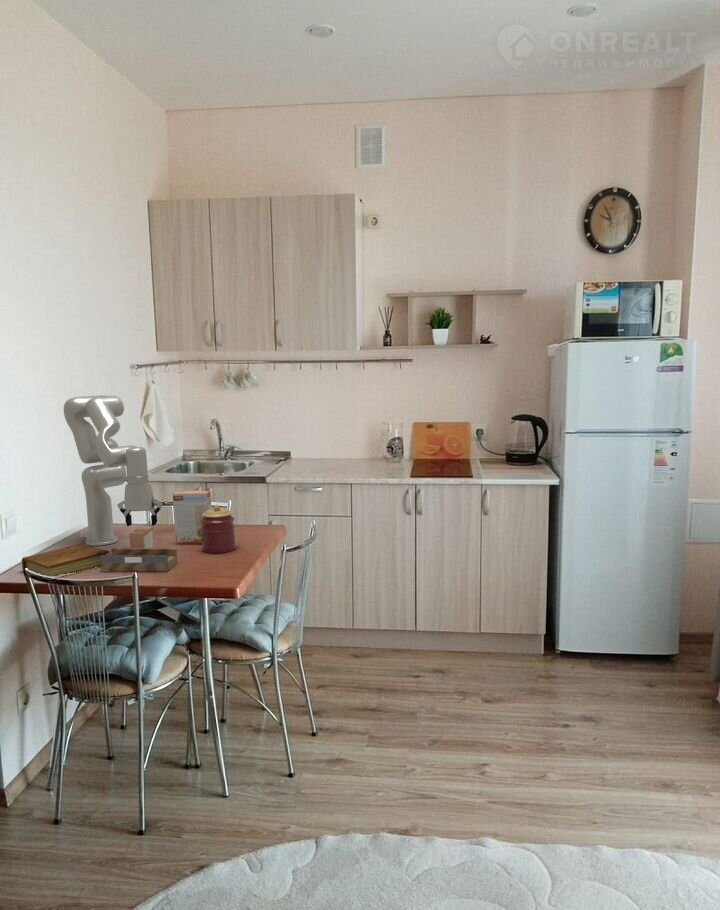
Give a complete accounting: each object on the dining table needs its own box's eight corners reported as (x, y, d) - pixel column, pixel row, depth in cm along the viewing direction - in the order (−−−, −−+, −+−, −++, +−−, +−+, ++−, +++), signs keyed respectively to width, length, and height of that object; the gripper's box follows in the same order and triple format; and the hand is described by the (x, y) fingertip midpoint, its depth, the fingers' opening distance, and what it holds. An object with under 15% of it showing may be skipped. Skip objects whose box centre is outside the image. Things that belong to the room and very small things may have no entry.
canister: (207, 544, 287) (204, 501, 284) (239, 544, 286) (237, 500, 283) (198, 553, 274) (195, 508, 271) (231, 553, 273) (229, 508, 271)
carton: (131, 559, 269) (129, 533, 268) (141, 551, 279) (140, 526, 277) (144, 559, 268) (142, 533, 267) (154, 551, 278) (152, 526, 277)
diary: (82, 557, 275) (81, 543, 274) (109, 566, 263) (108, 550, 262) (22, 572, 257) (21, 556, 256) (49, 581, 245) (47, 565, 245)
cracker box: (213, 540, 293) (211, 489, 290) (209, 544, 287) (206, 492, 284) (180, 540, 295) (177, 490, 292) (175, 544, 289) (172, 492, 286)
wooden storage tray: (101, 571, 254) (99, 556, 253) (114, 562, 265) (112, 548, 264) (167, 571, 252) (166, 556, 251) (177, 563, 262) (176, 548, 262)
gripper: (111, 482, 267) (115, 528, 269) (156, 481, 265) (160, 526, 267) (119, 479, 274) (123, 523, 276) (163, 478, 272) (167, 522, 274)
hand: (141, 525), depth 271 cm, fingers open, 9 cm apart
